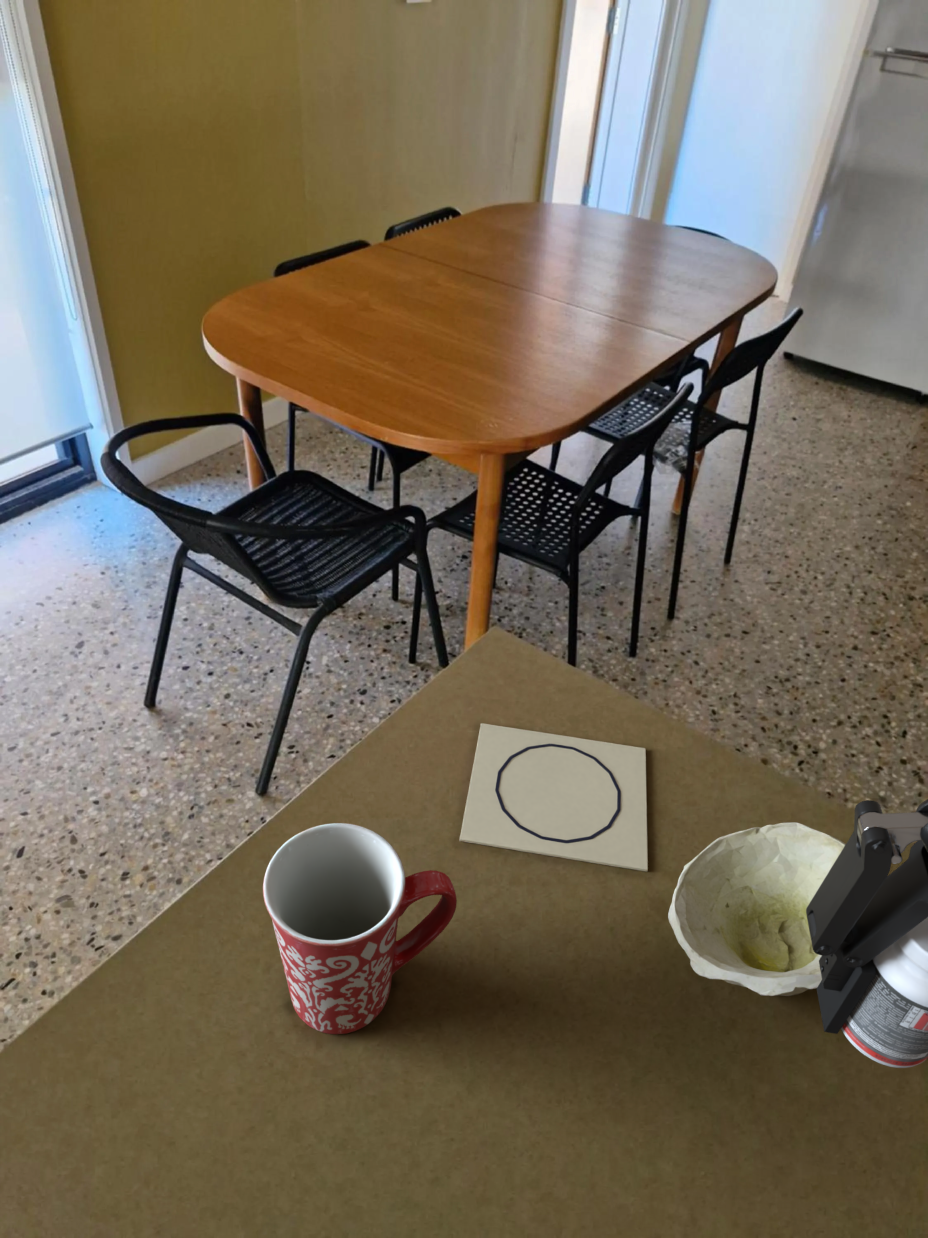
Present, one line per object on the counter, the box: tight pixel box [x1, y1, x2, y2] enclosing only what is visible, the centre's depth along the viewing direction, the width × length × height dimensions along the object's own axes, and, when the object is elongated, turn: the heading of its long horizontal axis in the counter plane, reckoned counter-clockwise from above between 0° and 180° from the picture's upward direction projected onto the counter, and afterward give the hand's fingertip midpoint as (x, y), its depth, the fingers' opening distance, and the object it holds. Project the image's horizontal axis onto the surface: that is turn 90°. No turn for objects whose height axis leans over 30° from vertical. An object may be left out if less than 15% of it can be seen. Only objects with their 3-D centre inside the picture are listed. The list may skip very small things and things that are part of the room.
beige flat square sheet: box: [459, 722, 649, 873], centre depth 80 cm, size 14×16×1 cm
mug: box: [262, 822, 458, 1035], centre depth 61 cm, size 13×9×14 cm
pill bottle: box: [840, 917, 928, 1069], centre depth 50 cm, size 6×6×10 cm
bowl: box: [667, 821, 846, 997], centre depth 66 cm, size 15×14×10 cm
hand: (882, 1020), depth 53 cm, fingers closed on pill bottle, 6 cm apart
